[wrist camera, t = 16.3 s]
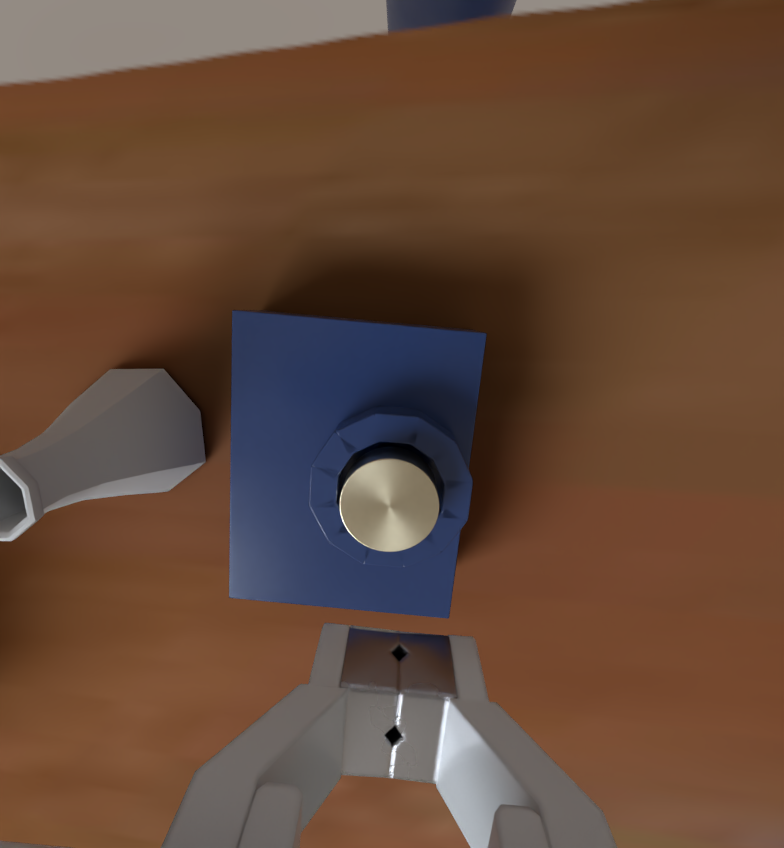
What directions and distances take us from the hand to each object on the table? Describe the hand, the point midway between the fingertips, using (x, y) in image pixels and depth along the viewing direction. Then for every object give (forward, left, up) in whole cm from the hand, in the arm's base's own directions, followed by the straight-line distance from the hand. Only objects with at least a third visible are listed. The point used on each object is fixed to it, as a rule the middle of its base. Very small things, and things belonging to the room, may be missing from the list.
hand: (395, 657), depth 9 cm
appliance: (+1, -2, -17) cm, 17 cm away
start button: (+1, 0, -11) cm, 11 cm away
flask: (+1, -14, -17) cm, 22 cm away
